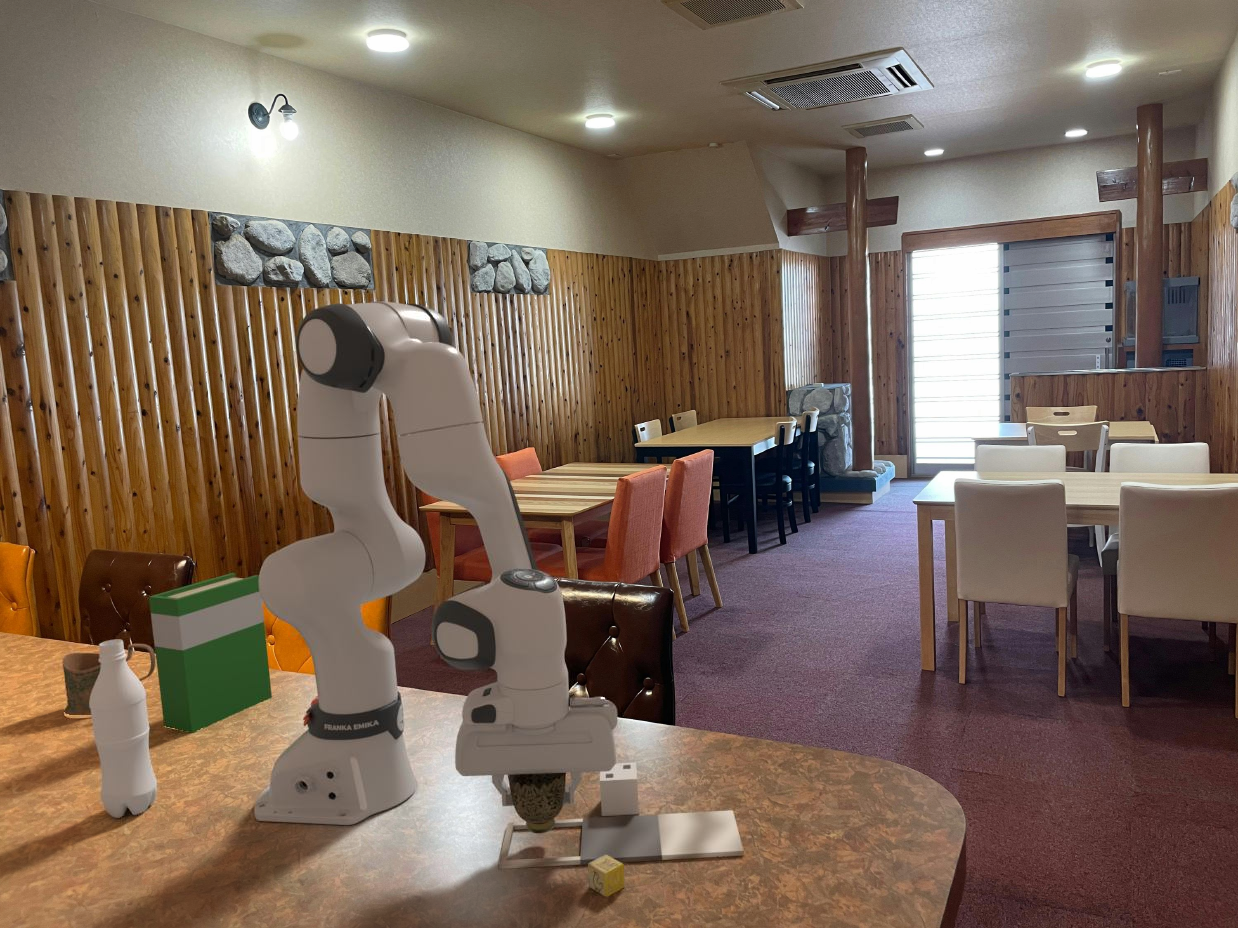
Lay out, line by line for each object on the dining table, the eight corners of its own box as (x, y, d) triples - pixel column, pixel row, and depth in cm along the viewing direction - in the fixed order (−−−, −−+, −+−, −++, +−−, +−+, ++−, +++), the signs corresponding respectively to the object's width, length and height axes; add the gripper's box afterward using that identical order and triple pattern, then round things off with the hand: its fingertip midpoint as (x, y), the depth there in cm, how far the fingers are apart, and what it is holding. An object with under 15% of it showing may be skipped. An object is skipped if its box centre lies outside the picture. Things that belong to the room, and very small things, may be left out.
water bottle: (170, 800, 135) (150, 636, 132) (130, 824, 128) (108, 652, 125) (133, 794, 137) (113, 633, 134) (91, 818, 130) (69, 649, 127)
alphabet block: (607, 876, 109) (606, 852, 108) (625, 886, 106) (624, 862, 106) (588, 887, 107) (586, 863, 106) (606, 898, 104) (604, 873, 104)
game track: (498, 868, 112) (498, 864, 111) (508, 826, 121) (507, 822, 121) (743, 855, 112) (743, 850, 111) (732, 814, 121) (732, 810, 121)
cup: (559, 846, 112) (555, 785, 111) (503, 841, 114) (499, 781, 113) (576, 815, 120) (572, 757, 118) (523, 811, 121) (519, 754, 120)
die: (601, 815, 123) (599, 780, 122) (602, 798, 128) (600, 763, 127) (639, 813, 123) (637, 778, 122) (637, 796, 128) (636, 761, 127)
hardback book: (244, 692, 179) (232, 573, 176) (271, 697, 175) (259, 575, 172) (164, 727, 163) (148, 596, 160) (192, 733, 160) (177, 599, 157)
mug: (143, 716, 169) (135, 653, 168) (49, 720, 169) (41, 658, 168) (174, 693, 181) (167, 634, 179) (86, 697, 181) (78, 638, 180)
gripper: (616, 686, 118) (619, 787, 119) (457, 692, 118) (463, 793, 119) (616, 706, 111) (620, 812, 113) (449, 711, 111) (455, 818, 113)
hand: (538, 802), depth 116 cm, fingers closed on cup, 6 cm apart
